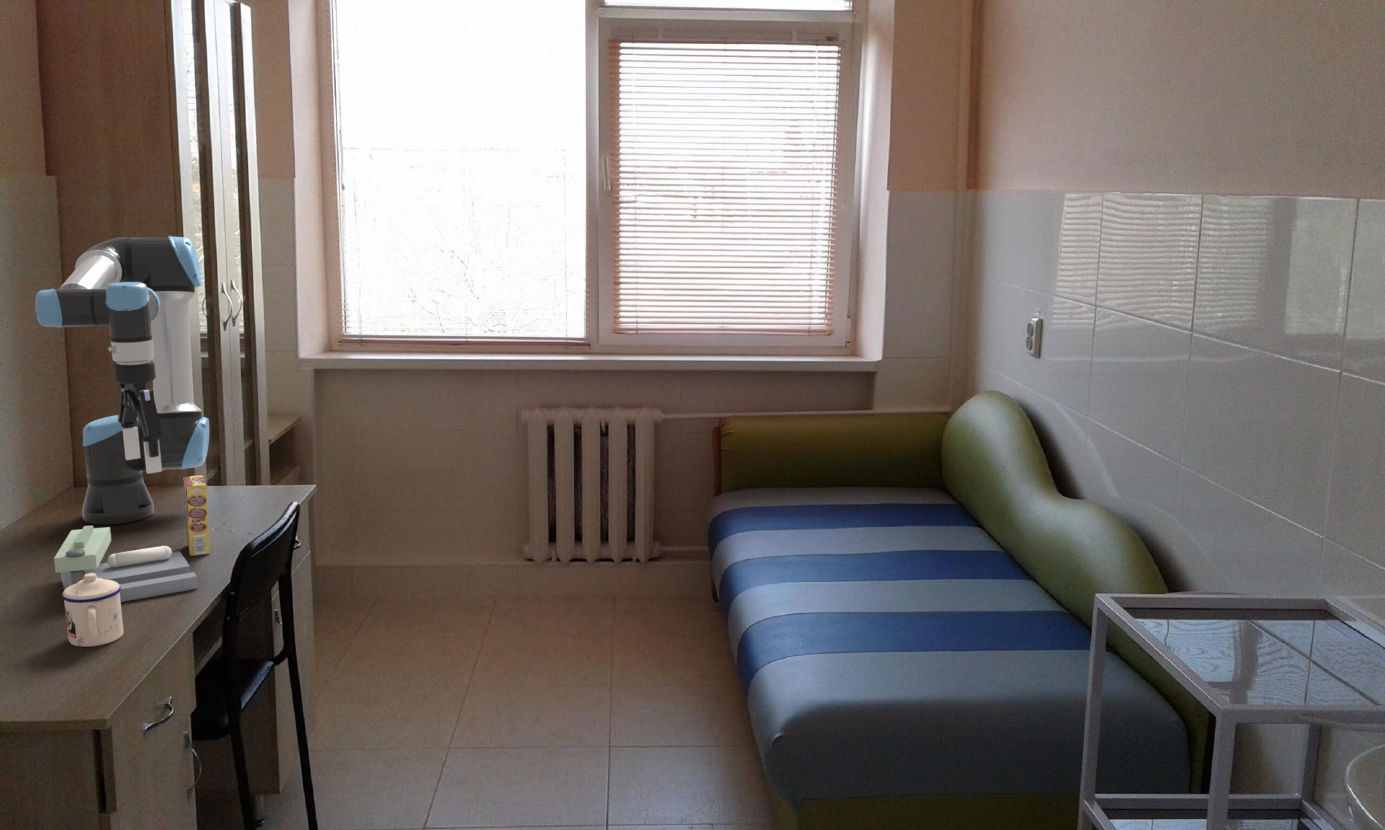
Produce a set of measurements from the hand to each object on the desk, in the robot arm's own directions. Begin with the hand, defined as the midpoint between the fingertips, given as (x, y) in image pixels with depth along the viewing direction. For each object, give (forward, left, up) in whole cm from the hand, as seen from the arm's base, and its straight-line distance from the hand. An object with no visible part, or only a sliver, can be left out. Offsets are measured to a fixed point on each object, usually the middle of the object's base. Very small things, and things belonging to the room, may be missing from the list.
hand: (143, 465), depth 242 cm
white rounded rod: (+5, -3, -17) cm, 18 cm away
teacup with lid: (+37, -15, -22) cm, 45 cm away
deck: (+10, -6, -21) cm, 24 cm away
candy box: (-6, +10, -22) cm, 25 cm away
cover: (+6, -13, -15) cm, 21 cm away
